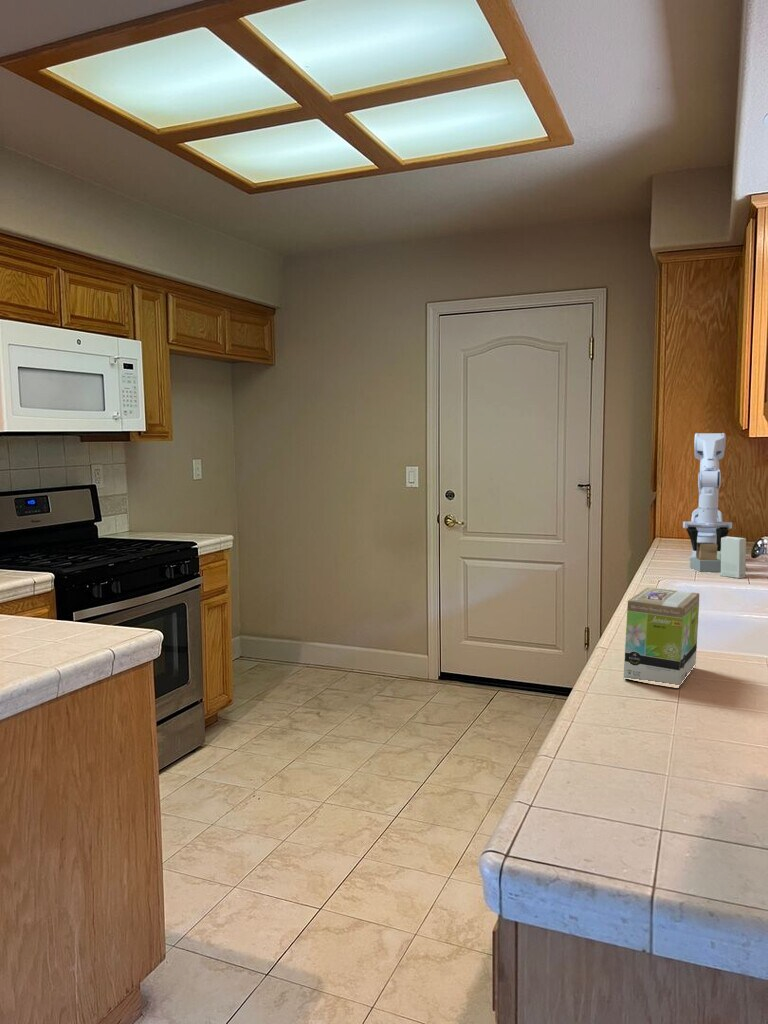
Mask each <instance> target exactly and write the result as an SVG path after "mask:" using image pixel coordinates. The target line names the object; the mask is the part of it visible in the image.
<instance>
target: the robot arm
mask: <svg viewBox="0 0 768 1024" xmlns="http://www.w3.org/2000/svg"><path fill="white" fill-rule="evenodd" d="M726 438H727V437H726V433H724V432H722V433H719V432H717V433H714V432H713V433H712V432H710V433H709V432H708V433H707V432H705V433H704V432H701V433H699V432H695V434H694V441H693V443H694V446H693V447H694V448H693V449H694V453H693V454H694V458H695V459H697V460H698V461H699V473H698V476H697V477H698V478H697V480H698V481H697V487H698V507H697V508H695V509H694V510H693V511H692V512H691V517H690V518H691V519H690V520H689V521H683V522H682V528H683V529H686V532H687V534H688V536H689V539H690V543H691V556H688V559H690V557H696V551H697V542H708V543H715V544H717V552H721V538H722V537H727V536H728V534H729V532H730V530H729V529H733V522H731V521H723V514H722V511H720V510H719V492H720V490H719V489H720V487H721V484H722V483H721V479H722V475H721V474H722V473H721V470H720V460H722V459H723V458H724V456H725V450H726Z"/></svg>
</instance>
